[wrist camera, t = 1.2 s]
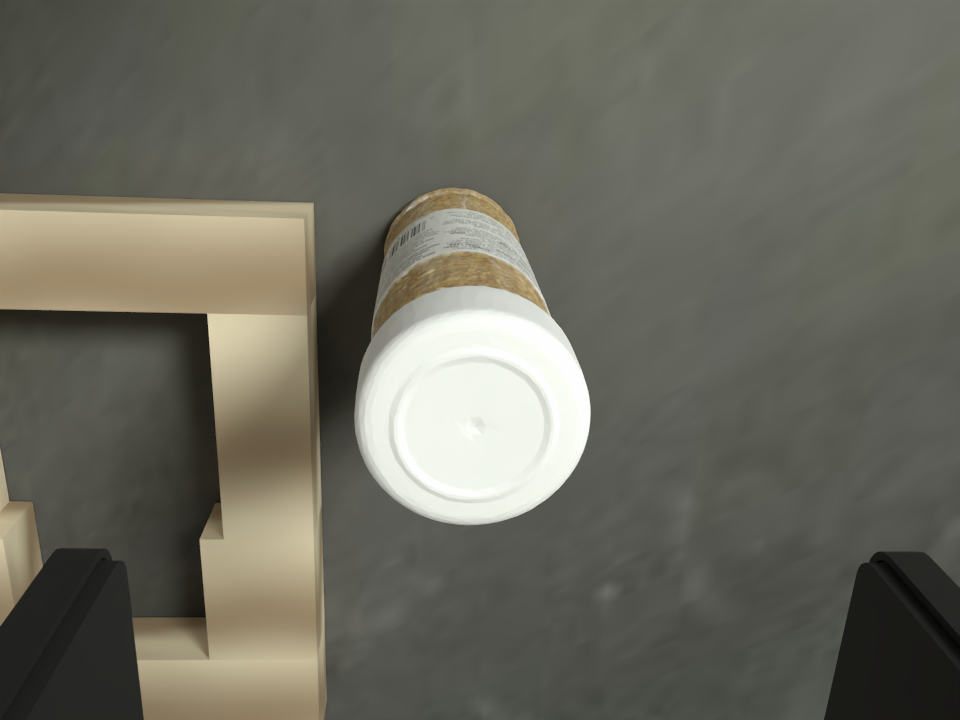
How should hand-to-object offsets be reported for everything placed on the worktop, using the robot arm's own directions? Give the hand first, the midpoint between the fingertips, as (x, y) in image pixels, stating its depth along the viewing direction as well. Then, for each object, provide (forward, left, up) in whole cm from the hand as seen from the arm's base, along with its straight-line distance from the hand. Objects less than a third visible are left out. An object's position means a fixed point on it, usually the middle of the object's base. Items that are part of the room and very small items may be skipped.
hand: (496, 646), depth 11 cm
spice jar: (0, 0, -19) cm, 19 cm away
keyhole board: (+8, -12, -19) cm, 24 cm away
